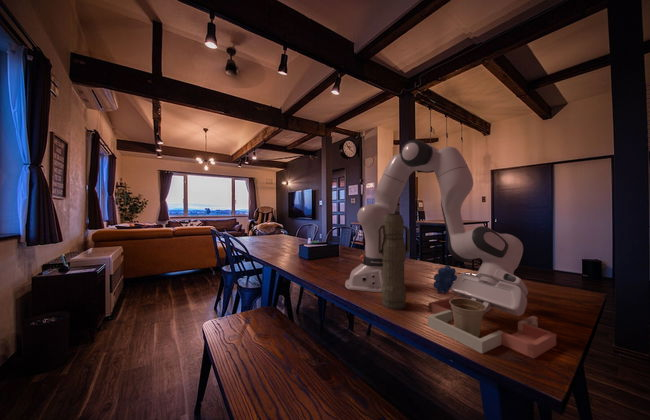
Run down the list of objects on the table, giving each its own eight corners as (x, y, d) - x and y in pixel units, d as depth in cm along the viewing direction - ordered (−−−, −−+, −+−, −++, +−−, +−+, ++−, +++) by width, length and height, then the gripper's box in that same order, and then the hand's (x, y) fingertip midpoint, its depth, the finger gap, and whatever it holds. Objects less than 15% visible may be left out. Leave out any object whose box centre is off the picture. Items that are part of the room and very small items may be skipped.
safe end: (448, 318, 80) (448, 309, 80) (504, 343, 65) (504, 332, 65) (427, 325, 75) (427, 316, 75) (482, 353, 60) (482, 342, 60)
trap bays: (451, 304, 91) (451, 296, 91) (556, 345, 64) (556, 333, 64) (428, 311, 85) (428, 303, 85) (533, 358, 58) (533, 346, 58)
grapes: (449, 288, 109) (449, 262, 109) (460, 293, 103) (460, 265, 103) (427, 290, 106) (427, 264, 106) (437, 296, 100) (437, 267, 100)
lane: (482, 307, 88) (482, 299, 88) (537, 326, 74) (537, 317, 74) (467, 312, 84) (467, 304, 84) (522, 334, 70) (522, 323, 70)
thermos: (414, 308, 88) (413, 213, 88) (383, 310, 86) (382, 214, 86) (403, 299, 97) (403, 213, 96) (375, 301, 95) (374, 213, 95)
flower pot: (492, 343, 65) (492, 311, 65) (455, 339, 67) (455, 309, 67) (478, 326, 74) (478, 298, 74) (445, 323, 76) (445, 296, 76)
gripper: (457, 265, 85) (440, 297, 81) (527, 280, 67) (509, 323, 63) (465, 276, 87) (448, 308, 83) (535, 293, 69) (518, 335, 65)
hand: (475, 314), depth 73 cm, fingers closed, pressing on flower pot
